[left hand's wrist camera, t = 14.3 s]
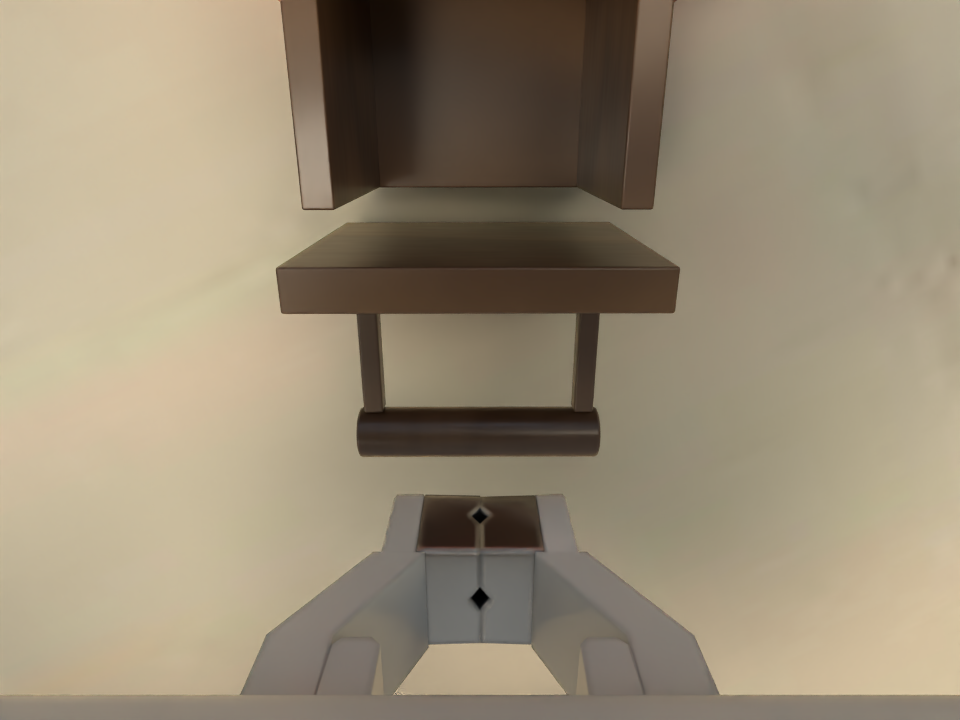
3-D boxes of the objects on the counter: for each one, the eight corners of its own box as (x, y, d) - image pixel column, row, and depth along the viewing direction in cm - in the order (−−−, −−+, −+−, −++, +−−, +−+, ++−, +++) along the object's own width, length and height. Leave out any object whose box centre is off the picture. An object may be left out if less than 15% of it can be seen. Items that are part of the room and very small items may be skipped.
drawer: (598, 382, 25) (653, 495, 17) (359, 382, 25) (303, 496, 17) (661, -453, 16) (836, -1020, 8) (292, -452, 16) (112, -1021, 8)
